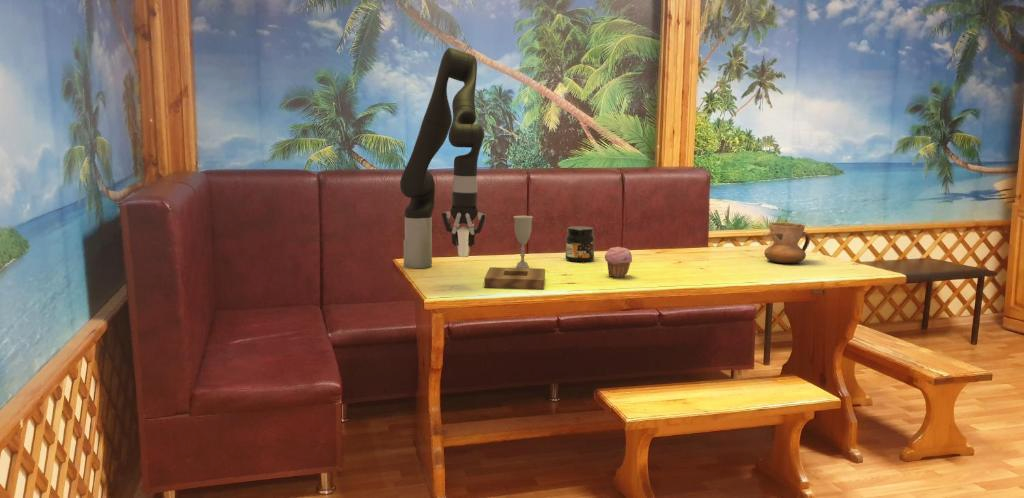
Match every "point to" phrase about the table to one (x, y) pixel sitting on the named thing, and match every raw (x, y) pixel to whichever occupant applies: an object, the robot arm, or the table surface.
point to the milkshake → (463, 241)
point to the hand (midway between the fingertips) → (463, 245)
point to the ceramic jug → (786, 242)
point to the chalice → (523, 235)
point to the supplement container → (580, 244)
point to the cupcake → (618, 261)
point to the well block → (515, 278)
